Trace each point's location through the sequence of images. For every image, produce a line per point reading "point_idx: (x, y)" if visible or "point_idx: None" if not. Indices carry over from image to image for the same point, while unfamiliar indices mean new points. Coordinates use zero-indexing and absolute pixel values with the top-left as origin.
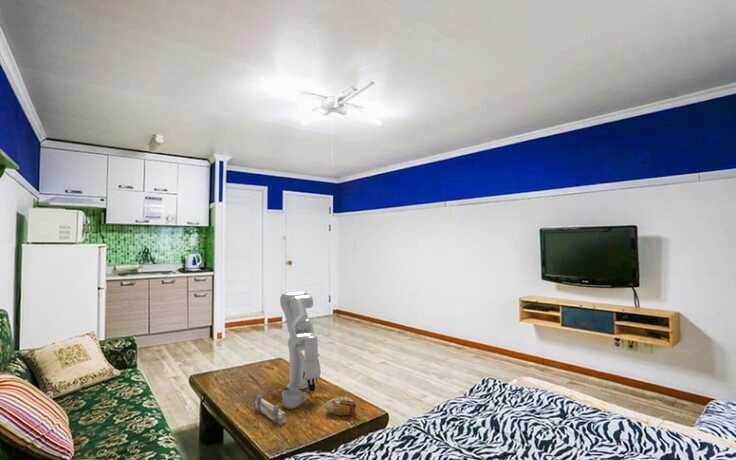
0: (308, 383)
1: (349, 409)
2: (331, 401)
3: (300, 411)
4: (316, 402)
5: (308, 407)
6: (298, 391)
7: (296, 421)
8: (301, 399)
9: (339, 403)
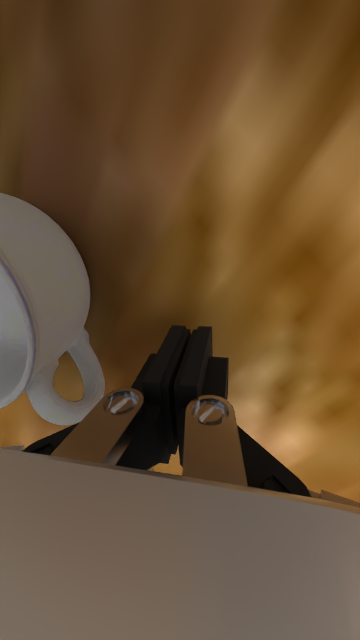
0: (113, 403)
1: None
2: None
3: (68, 371)
4: (224, 345)
5: (132, 365)
6: (24, 287)
7: (22, 430)
8: (67, 349)
9: None
